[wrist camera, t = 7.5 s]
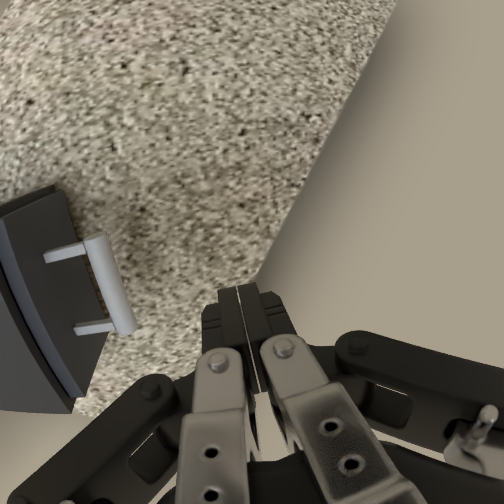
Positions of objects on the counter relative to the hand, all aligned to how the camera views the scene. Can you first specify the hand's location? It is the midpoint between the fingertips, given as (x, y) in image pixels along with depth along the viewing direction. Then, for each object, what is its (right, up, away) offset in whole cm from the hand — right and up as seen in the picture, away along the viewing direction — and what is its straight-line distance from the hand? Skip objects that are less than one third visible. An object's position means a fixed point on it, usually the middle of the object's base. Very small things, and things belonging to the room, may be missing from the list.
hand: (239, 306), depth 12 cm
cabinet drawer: (-16, 0, +8) cm, 18 cm away
